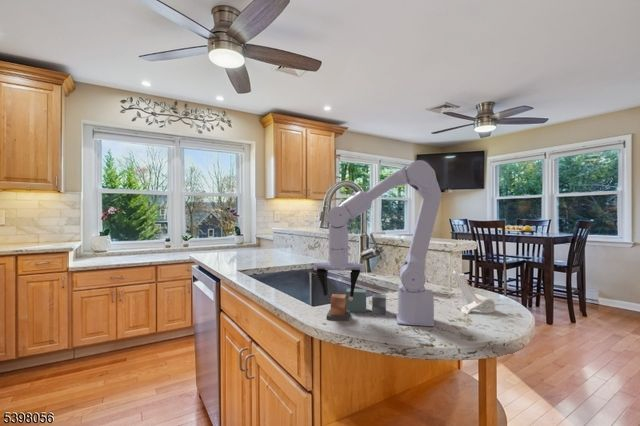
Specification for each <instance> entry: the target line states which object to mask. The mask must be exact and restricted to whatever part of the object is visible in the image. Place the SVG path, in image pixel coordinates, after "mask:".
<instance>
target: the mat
mask: <svg viewBox="0 0 640 426" xmlns="http://www.w3.org/2000/svg"><path fill="white" fill-rule="evenodd" d="M350 315H351V311H348V310H346V313H345V316H339V315H331V308H330V309H329V310H328V312H327V313H326V320H331V321H342V322H343V321H344V322H345V321H346V322H348V321H349V317H350Z"/></svg>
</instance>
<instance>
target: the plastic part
mask: <svg viewBox="0 0 640 426" xmlns="http://www.w3.org/2000/svg"><path fill="white" fill-rule="evenodd" d="M451 273H452V276H453V277H454V279H455V281H456V283H457V284H458V287H459V288H460V290H461V293H462V295H463V296H464V299H465V300H466V302H467V304H465V305H463V306H462V308H461V310H460V312H461V313H462V314H466V315H469V314H470V313H471V312H472V311H474V310H476V309H477V310H479V311H482V312H484V313H488V314H491V313H494V311H495V310H496V302H495V301H494V300H493V299H491V298H490V297H486V296H483V295H480V294H478V293H475V292H474V290H473V288H472V286H471V284H468V279H467V277H466V276H465V275H466V274H465V273H459V274H457V271H455V270H454V271H453V272H451Z"/></svg>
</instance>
